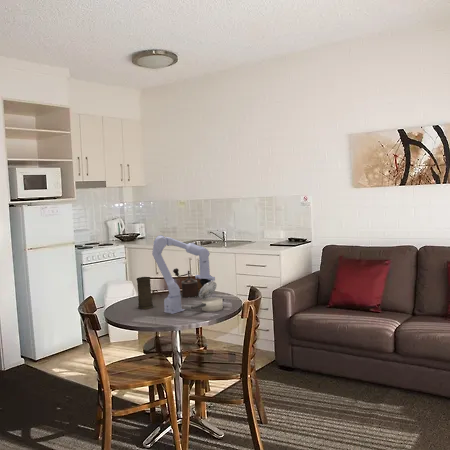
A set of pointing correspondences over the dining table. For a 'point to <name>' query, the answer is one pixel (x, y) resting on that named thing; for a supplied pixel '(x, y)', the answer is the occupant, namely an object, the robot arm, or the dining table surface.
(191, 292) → the manual coffee grinder
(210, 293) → the lid
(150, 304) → the container
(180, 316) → the dining table surface
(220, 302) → the pot
